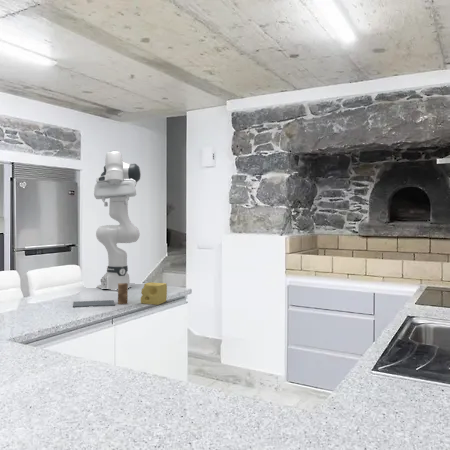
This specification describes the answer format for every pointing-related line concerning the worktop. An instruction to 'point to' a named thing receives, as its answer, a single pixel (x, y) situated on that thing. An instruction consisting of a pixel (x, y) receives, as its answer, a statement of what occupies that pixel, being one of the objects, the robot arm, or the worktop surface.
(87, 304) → the slate mat
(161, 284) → the cheese
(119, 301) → the walnut block
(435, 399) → the worktop surface
